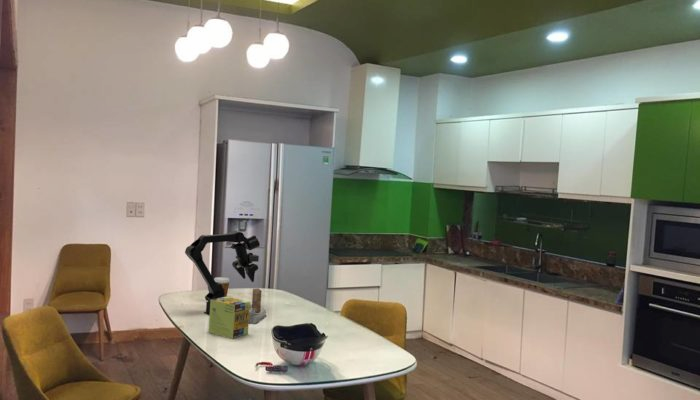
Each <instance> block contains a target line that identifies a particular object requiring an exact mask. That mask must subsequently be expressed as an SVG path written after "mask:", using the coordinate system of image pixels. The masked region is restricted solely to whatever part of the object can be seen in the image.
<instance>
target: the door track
mask: <svg viewBox="0 0 700 400" xmlns="http://www.w3.org/2000/svg"><path fill="white" fill-rule="evenodd" d="M266 313H267V308H263V309H262V310H260V312H259V313H255V308H252V307H251V309H249V325H257V324H258V323H259V322H260V321H262V320H263V319H265V318H266V317H267V314H266Z"/></svg>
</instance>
